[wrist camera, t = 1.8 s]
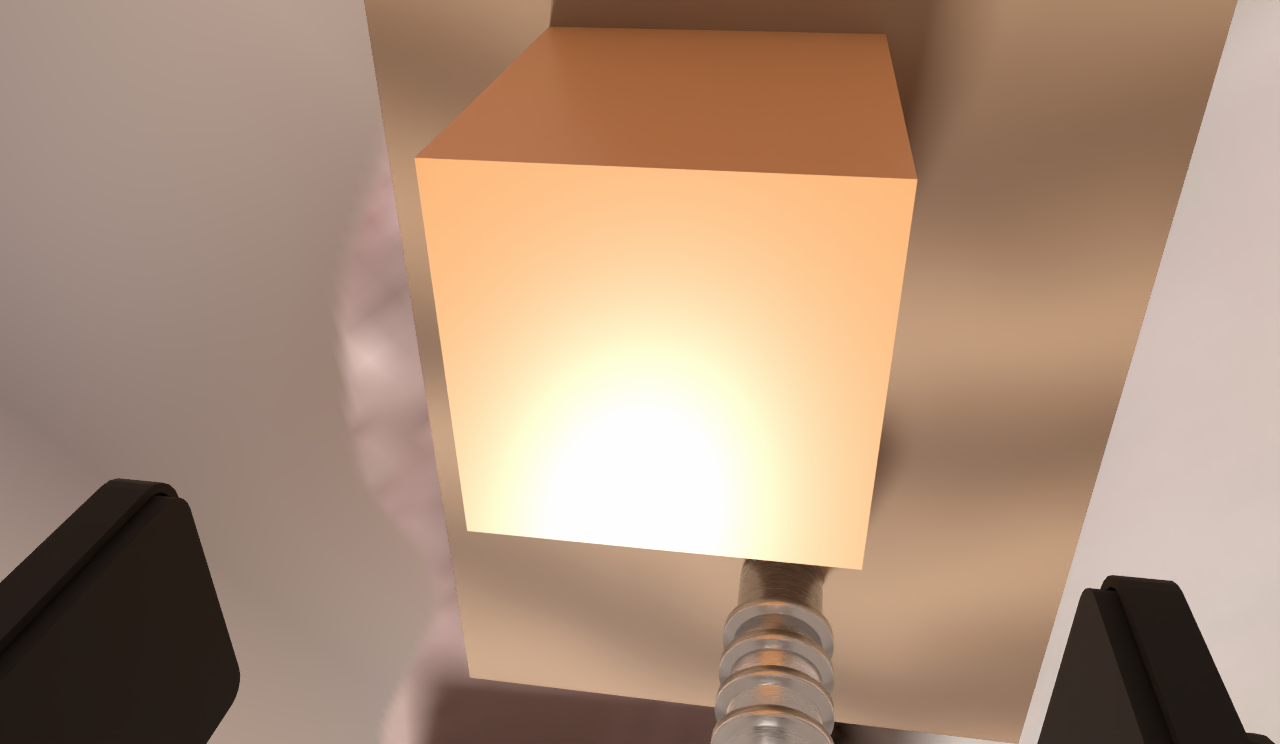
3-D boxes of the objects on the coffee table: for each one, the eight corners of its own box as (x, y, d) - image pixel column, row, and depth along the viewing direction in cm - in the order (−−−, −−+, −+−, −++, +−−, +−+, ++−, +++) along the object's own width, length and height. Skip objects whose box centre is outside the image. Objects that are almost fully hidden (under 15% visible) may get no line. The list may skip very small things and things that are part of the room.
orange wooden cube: (549, 26, 18) (413, 158, 12) (885, 34, 17) (917, 179, 11) (566, 315, 21) (467, 530, 15) (850, 334, 20) (861, 569, 14)
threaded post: (732, 535, 24) (709, 724, 19) (837, 545, 23) (840, 740, 19) (728, 609, 25) (706, 803, 20) (828, 620, 24) (829, 820, 20)
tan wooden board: (375, -104, 18) (349, -95, 17) (1237, -101, 16) (1264, -92, 15) (482, 645, 29) (469, 677, 28) (1010, 706, 27) (1018, 744, 26)
